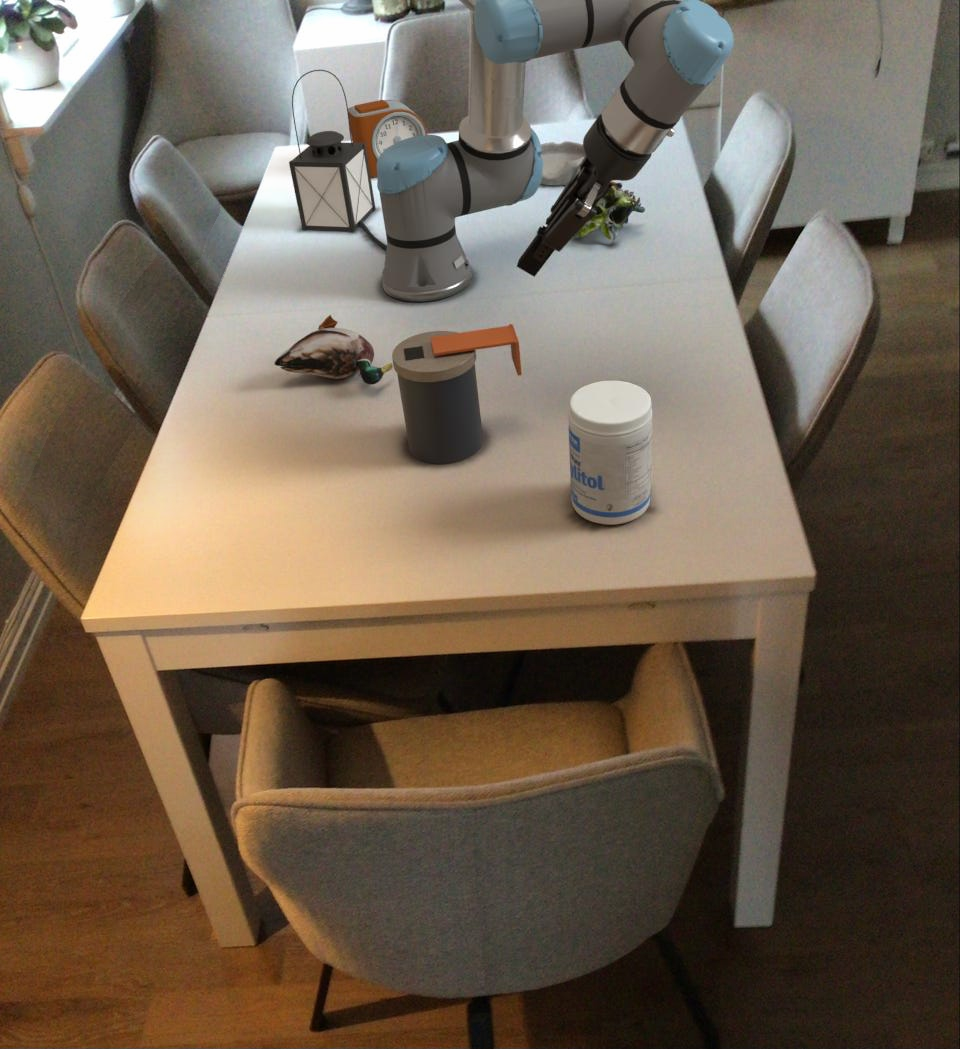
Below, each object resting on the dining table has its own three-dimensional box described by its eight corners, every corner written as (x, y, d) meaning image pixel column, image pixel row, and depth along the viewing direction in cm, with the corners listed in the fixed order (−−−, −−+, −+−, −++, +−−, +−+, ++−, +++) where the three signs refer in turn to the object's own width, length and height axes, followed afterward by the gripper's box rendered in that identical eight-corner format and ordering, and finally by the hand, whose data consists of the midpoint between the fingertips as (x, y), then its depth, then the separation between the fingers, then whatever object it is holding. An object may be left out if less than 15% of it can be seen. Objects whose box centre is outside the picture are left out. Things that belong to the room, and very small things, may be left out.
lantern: (376, 209, 214) (353, 61, 197) (354, 232, 206) (328, 79, 189) (325, 208, 217) (298, 61, 200) (301, 230, 209) (271, 79, 192)
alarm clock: (365, 180, 227) (355, 114, 219) (354, 168, 234) (344, 104, 226) (431, 165, 231) (423, 100, 223) (419, 153, 237) (411, 90, 229)
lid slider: (515, 356, 141) (512, 323, 138) (521, 375, 137) (519, 341, 135) (434, 368, 141) (430, 336, 138) (438, 387, 137) (434, 354, 134)
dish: (595, 185, 213) (594, 160, 210) (525, 191, 214) (523, 166, 211) (590, 159, 224) (589, 135, 221) (524, 165, 225) (522, 141, 222)
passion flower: (612, 256, 199) (648, 197, 195) (621, 270, 189) (659, 208, 185) (560, 226, 196) (595, 165, 192) (566, 238, 187) (603, 175, 182)
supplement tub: (556, 510, 131) (549, 407, 122) (601, 472, 136) (598, 370, 127) (622, 538, 125) (620, 432, 117) (667, 497, 131) (668, 393, 122)
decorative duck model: (397, 351, 153) (297, 380, 148) (400, 395, 158) (304, 424, 153) (356, 304, 163) (262, 329, 158) (361, 346, 168) (269, 372, 163)
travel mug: (479, 416, 149) (469, 324, 141) (490, 458, 141) (480, 363, 132) (403, 428, 149) (389, 336, 140) (410, 470, 140) (395, 376, 132)
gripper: (648, 183, 119) (542, 314, 137) (660, 119, 127) (559, 251, 145) (590, 148, 118) (491, 286, 136) (607, 85, 125) (511, 223, 143)
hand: (526, 267), depth 140 cm, fingers closed
